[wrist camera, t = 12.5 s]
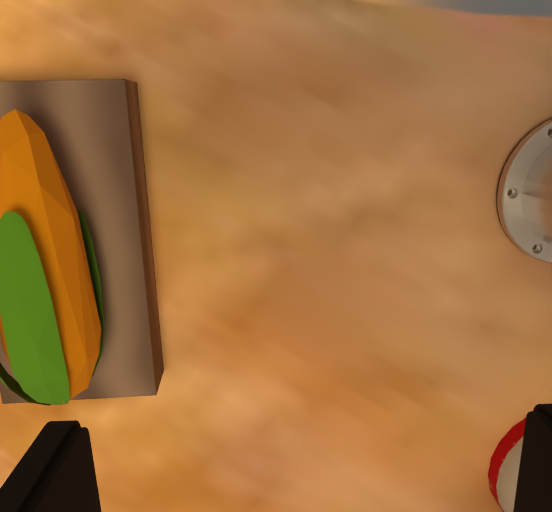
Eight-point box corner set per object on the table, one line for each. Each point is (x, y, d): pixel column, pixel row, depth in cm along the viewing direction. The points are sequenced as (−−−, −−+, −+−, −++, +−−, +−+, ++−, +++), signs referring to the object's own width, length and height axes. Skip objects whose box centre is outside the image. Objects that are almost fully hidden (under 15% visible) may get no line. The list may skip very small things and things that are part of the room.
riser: (136, 83, 36) (124, 79, 32) (163, 370, 43) (156, 395, 39) (-30, 85, 36) (-63, 82, 32) (24, 377, 42) (2, 403, 38)
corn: (-23, 442, 31) (-101, 110, 25) (21, 379, 38) (-33, 112, 32) (99, 429, 31) (50, 106, 26) (119, 370, 39) (84, 108, 33)
